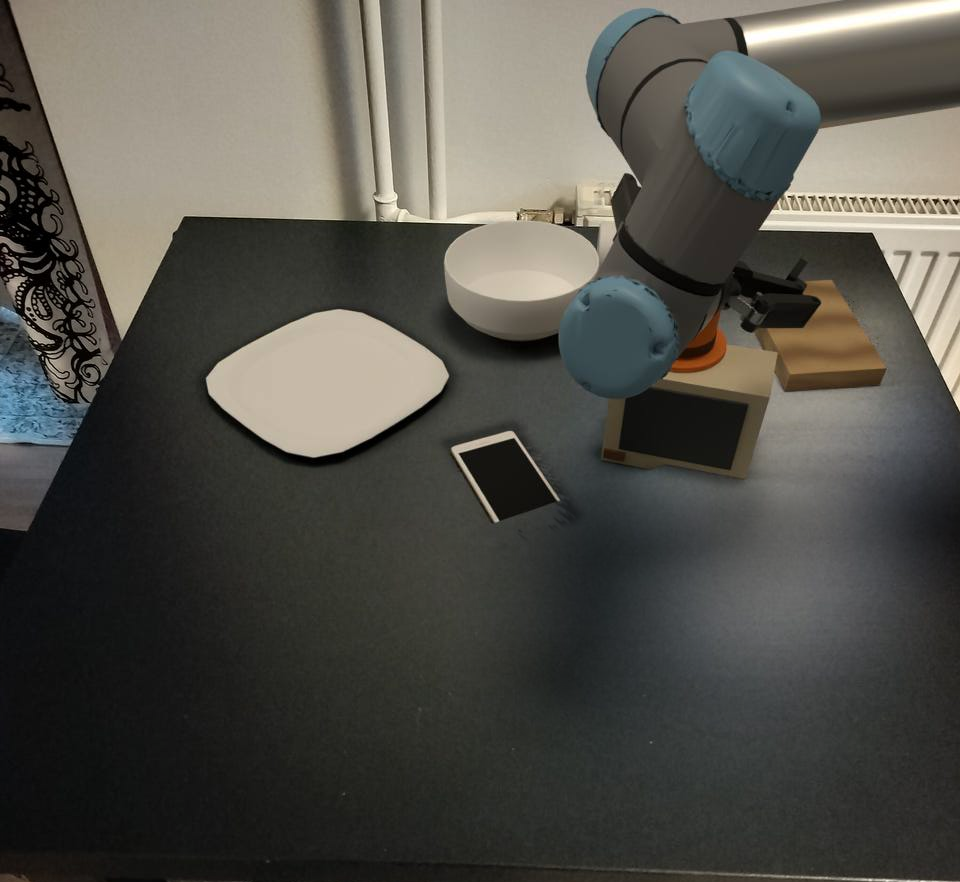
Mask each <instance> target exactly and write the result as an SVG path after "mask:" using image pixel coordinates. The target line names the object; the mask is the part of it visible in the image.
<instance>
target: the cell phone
mask: <svg viewBox="0 0 960 882" xmlns="http://www.w3.org/2000/svg"><path fill="white" fill-rule="evenodd" d="M450 449H451V454H452V456H453V457H454V459H455V461H456V462H457V464H458V465H459V467H460V469H461V471H462V472H463V474H464V475H465V477H466V479H467V481H468V483H469V484H470V485H471V488H472V489H473V490H474V493H475V494H476V496H477V497H478V499H479V500H480V502H481V504H482V505H483V508H484V509H485V510H486V512H487V513H488V516H489V517H490V519H491V521H492V522H493V524H496V523H498V522H501V521H505V520H507V519H510V518H513V517H517V516H519V515H522V514H524V513H528V512H531V511H534V510H536V509H539V508H543V507H545V506H548V505H551V504H554V503H557V502H559V501H561V499H560V497H559V496H558V495H557V493H556V491H555V490H554V489H553V488H552V485H550V483H549V482H548V480H547V478H546V477H545V475H544V474H543V473H542V471H541V470H540V468H539V467H538V466H537V464H536V462H535V461H534V460H533V458H532V456H531V455H530V454H529V452H528V451H527V449H526V447H524V445H523V444H522V442H521V440H520V439H519V437H518V436H517V435H516V433H515V432H514V431H513V430H507V431H503V432H499V433H495V434H493V435H489V436H486V437H482V438H479V439H474V440H472V441H468V442H464V443H460V444H457V445H454V446H452V447H451V448H450Z"/></svg>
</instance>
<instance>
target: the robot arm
mask: <svg viewBox="0 0 960 882" xmlns="http://www.w3.org/2000/svg"><path fill="white" fill-rule="evenodd" d="M586 66H587V67H586V74H585V83H586V90H587V94H588V98H589V102H591V105H592V108H593V110H594V112H595V116H596V120H597V122H598V123H599V125H600V128H601V130H603V132H604V133H605V134H606V135H607V136H608V137H609V138H610V139H611V140H612V142H613V144H614V145H615V147H616V148H617V149H618V151H619V152H620V154H621V155H622V157H623V158H624V159H625V162H626V163H627V165H628V166H629V168H630V170H631V172H632V173H633V174H631V173H629V172H625V173H623V175H622V177H621V179H620V181H619V182H618V184H617V187H616V188H615V190H614V192H613V194H612V197H611V199H610V206H611V212H612V215H613V222H615V226H616V231H617V232H616V234H615V236H614V238H613V244H612V246H611V248H610V250H609V252H608V254H607V256H606V258H605V260H604V262H603V264H602V265H601V267H600V269H599V271H598V273H597V275H596V277H595V278H594V280H593V281H591V282H589V283H587V284H586V286H585V288H581V289H580V290H579V291H578V293H577V295H576V297H575V298H574V299H573V301H572V302H571V303H570V304H569V306H568V307H567V309H566V311H565V312H564V315H563V317H562V320H561V323H560V328H559V333H558V348H559V353H560V357H561V359H562V362H563V365H564V367H565V369H566V370H567V372H568V373H569V375H570V376H571V377H572V379H573V380H574V381H575V382H576V383H577V384H578V385H580V386H581V387H582V388H583V389H584V390H585V391H587V392H589V393H591V394H593V395H595V396H598V397H601V398H605V399H609V398H610V399H623V398H629V397H632V396H635V395H638V394H640V393H642V392H644V391H645V390H647V389H648V388H649V387H651V386H652V385H653V384H655V383H657V382H658V380H659V379H663V378H664V377H665V376H666V375H667V374H668V372H669V371H670V369H671V366H672V365H673V363H674V362H675V361H676V359H677V358H678V357H679V356H680V354H681V353H682V352H683V351H684V349H685V348H686V347H687V346H688V345H689V344H690V343H691V342H692V341H693V340H694V338H695V337H696V336H697V335H698V334H699V333H700V332H701V331H702V330H703V329H704V328H705V326H706V325H707V324H708V323H709V322H710V321H711V320H712V319H713V318H714V316H715V315H716V314H717V313H718V312H719V311H720V310H721V311H727V310H730V309H733V310H734V311H736V312H737V313H738V314H740V316H739V320H740V321H741V323H740V325H739V326H740V328H741V329H742V330H743V331H745V332H747V333H750V334H752V333H755V331H756V330H757V329H758V328H804V326H805V325H806V323H807V322H808V321H809V319H810V318H811V317H812V315H813V314H814V313H815V311H816V310H817V309H818V307H819V306H820V305H821V301H820V300H819V299H818V298H817V297H815V296H812V295H804V294H803V292H804V291H805V289H806V287H807V284H806V283H805V282H804V281H805V280H803V279H801V278H799V276H800V274H801V273H802V271H803V270H804V269H805V267H806V266H807V264H808V262H809V261H807V260H805V259H804V258H802V257H800V259H798V261H797V262H796V264H795V265H794V266H793V268H792V269H791V270H790V272H789V273H788V274H787V276H786V278H781V277H777V276H773V275H770V274H766V273H762V272H758V271H755V270H752V268H751V267H750V266H749V265H748V264H747V263H746V262H745V261H741V260H740V259H741V257H742V256H743V254H744V253H745V252H746V250H747V248H748V247H749V245H751V243H752V241H753V240H754V238H755V236H756V235H757V233H758V232H759V230H760V229H761V228H762V226H763V225H764V223H765V222H766V220H767V218H768V217H769V215H770V214H771V213H772V211H773V210H774V208H775V207H776V205H777V204H778V202H779V201H780V199H781V198H782V197H783V196H784V195H785V193H786V192H787V191H788V190H789V189H790V187H791V186H792V185H791V184H792V182H793V181H794V179H795V177H794V175H795V173H796V171H797V170H798V168H799V166H800V165H801V162H802V160H803V159H804V157H805V156H806V153H807V152H808V151H809V149H810V147H811V145H812V143H813V141H814V140H815V137H816V136H817V134H818V133H819V130H821V129H829V128H835V127H842V126H847V125H854V124H860V123H866V122H872V121H879V120H885V119H892V118H899V117H905V116H911V115H916V114H924V113H930V112H935V111H943V110H949V109H956V108H960V0H834V1H828V2H822V3H815V4H809V5H803V6H796V7H789V8H783V9H778V10H777V9H776V10H770V11H765V12H759V13H752V14H745V15H739V16H732V17H724V18H723V17H722V18H713V19H707V20H700V21H693V22H692V21H691V22H685V23H681V22H680V20H679V19H678V18H677V17H674V16H672V15H671V14H669V13H664V11H662V10H657V9H656V8H652V7H639V8H634V9H631V10H627V11H625V12H623V13H622V14H620V15H619V16H617V17H616V18H614V19H613V20H612V21H610V22H609V24H607V26H605V28H604V29H603V30H602V31H601V33H600V34H599V36H598V37H597V38H596V41H595V42H594V44H593V46H592V49H591V51H590V52H589V57H588V61H587V65H586ZM638 183H639V184H640V186H639V184H638Z"/></svg>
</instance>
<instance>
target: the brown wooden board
mask: <svg viewBox="0 0 960 882" xmlns="http://www.w3.org/2000/svg"><path fill="white" fill-rule="evenodd" d="M803 281H804V282H805V283H806V284H807V287H806V289H805V291H804V292H803V294H804V295H812V296H815V297H817V298H818V299H819V300H820V301H821V305H820V306H819V307H818V309H817V310H816V311H815V313H814V314H813V315H812V317H811V318H810V319H809V321H808V322H807V323H806V325H805V326H804V328H758V329H757V330H756V331H754V333H755V334H756V336H757V338H758V340H759V342H760V344H761V346H762V348H763V350H767V351H773V352H778V354H777V360H776V366H775V371H774V373H775V374H776V376H777V378H778V380H779V383H780V384H781V386H782V389H783V390H784V392H794V391H809V390H810V391H811V390H825V389H840V388H853V387H854V388H855V387H869V386H870V387H871V386H880V385H881V384H882V381H883V379H884V376H885V374H886V372H887V369H888V366H886V364H885V362H884V360H883V359H882V358H881V356H880V354H879V353H878V351H877V350H876V348H875V346H874V345H873V343H872V341H871V340H870V338H869V337H868V335H867V334H866V332H865V331H864V329H863V327H862V326H861V324H860V323H859V320H857V318H856V316H855V314H854V313H853V312H852V310H851V308H850V306H849V305H848V303H847V302H846V300H845V299H844V296H843V295H842V294H841V292H840V291H839V289H838V288H837V286H836V284H835V283H834V281H833V280H832V279H822V280H806V281H805V280H803Z"/></svg>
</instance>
